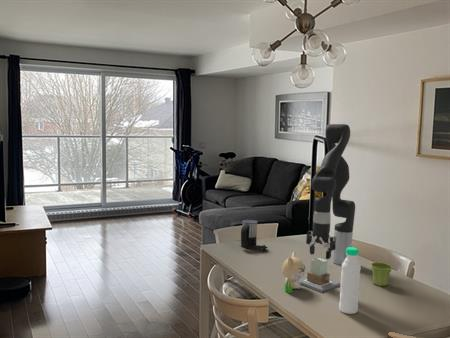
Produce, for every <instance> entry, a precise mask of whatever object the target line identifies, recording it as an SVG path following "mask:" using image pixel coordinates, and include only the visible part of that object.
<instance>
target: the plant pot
mask: <svg viewBox="0 0 450 338" xmlns="http://www.w3.org/2000/svg"><path fill="white" fill-rule="evenodd" d="M370 266H371V271H372V283H373V284H375V285H376V286H380V287H384V286H388V283H389V278H390V273H391V271H392V270H393V266H392V265H391V264H388V263H384V262H371V263H370Z"/></svg>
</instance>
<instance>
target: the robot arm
mask: <svg viewBox="0 0 450 338" xmlns="http://www.w3.org/2000/svg"><path fill="white" fill-rule="evenodd" d="M324 133H325V140H326V141H325V142H326V147H327V153H326V155H324V157H323V159H322V162H321V165H320V167H319V168H320V169H319V168H318V171H317V172H316V174H315V175H314V176H313V177H312V179H311V182H310V183H311V184H310V187H311V189H312V191H314V192H316V193H324V194H325V193H326V195H325V196H321V197H320V196H319V197H315V199H314V209H313V218H312V230H308V231H307V232H306V239H305V240H306V241H305V242H306V244H307V245H308V246H309V253H310V255H315V248H316V247H315V245H316V244H320V245H322V246H323V247H324V248H325V250H326V251H325V260H330V259H331V258H332V263H334V264H335V265H340V266H342V264H343V262H344V260H345V258H346V257H347V255H346V248H348V247H353V233H354V231H353V230H354V224H355V223H354V222H355V214H356V204H355V202H354V201H353V200H348V199H341V194H342V192H343V190H344V188H345V187H346V186H347V184H348V183H349V181H350V167H349V164H348V162H347V161H346V160H345V158H344V157H343V156H342V155H343V153H344V151H345V150H346V148H347V145H348V143H349V141H350V138H351V128H350V125H348V124H346V123H345V124H344V123H330V124H327V125H326V128H325V132H324ZM331 204H332V205H331ZM331 206H332V207H331ZM331 209H332V213H333V215H334V216H335V217H337V218H344V219H345V221H342V222H338V223H335V224H334V231H333V232H334V233H333V234H334V235H333V236H330V233H331V217H332V216H331Z"/></svg>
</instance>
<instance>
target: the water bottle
mask: <svg viewBox="0 0 450 338" xmlns="http://www.w3.org/2000/svg"><path fill="white" fill-rule="evenodd" d="M346 255H347V257H346V258H345V260H344V262H343V264H342V265H341V274H340V293H339V304H338V309H339V311H340V312H341V313H344V314H345V315H346V314H348V315H353V314H356V313H357V312H358V311H359V303H358V302H359V297H360V296H359V291H360V284H361V281H360V280H361V269H362V268H361V267H362V266H361V263H360V262H359V260H358V256H359V249H358V248H356V247H354V246H352V247H348V248H346Z"/></svg>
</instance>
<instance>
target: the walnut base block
mask: <svg viewBox="0 0 450 338" xmlns="http://www.w3.org/2000/svg"><path fill="white" fill-rule="evenodd" d="M306 277H307V281H308V282H311V283H314V284H317V285H319V286H320V285H323V284H326V283H329V279H330V273H329V272H327V274H324V275H321V276H319V275H316V274H313V273H311V271H308V272H307V276H306Z"/></svg>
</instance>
